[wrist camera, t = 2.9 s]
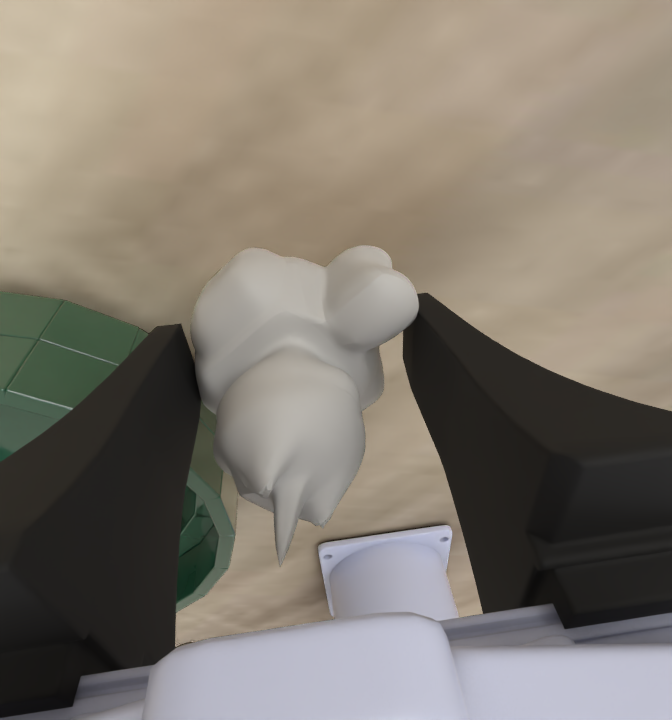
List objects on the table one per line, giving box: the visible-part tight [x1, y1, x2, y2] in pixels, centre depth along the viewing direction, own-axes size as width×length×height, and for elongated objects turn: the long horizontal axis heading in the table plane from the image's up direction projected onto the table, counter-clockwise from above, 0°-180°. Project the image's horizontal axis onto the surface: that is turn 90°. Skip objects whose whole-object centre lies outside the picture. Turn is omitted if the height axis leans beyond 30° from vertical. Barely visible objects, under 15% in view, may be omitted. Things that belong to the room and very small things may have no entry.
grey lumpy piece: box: [190, 245, 419, 567], centre depth 11 cm, size 5×7×8 cm
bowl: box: [0, 291, 238, 612], centre depth 18 cm, size 15×15×5 cm
